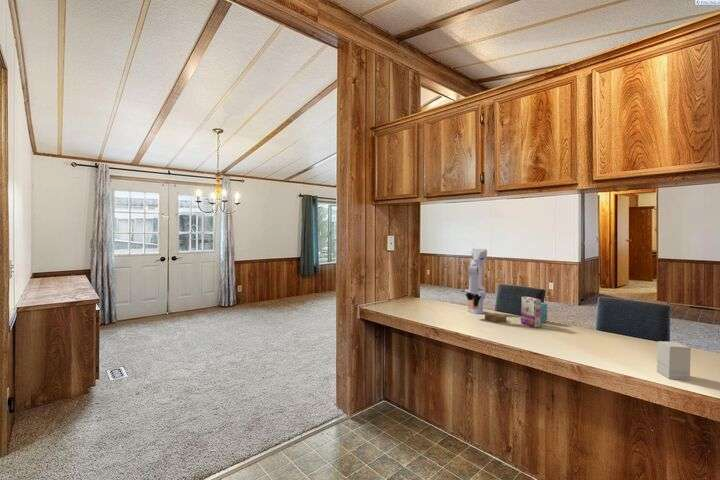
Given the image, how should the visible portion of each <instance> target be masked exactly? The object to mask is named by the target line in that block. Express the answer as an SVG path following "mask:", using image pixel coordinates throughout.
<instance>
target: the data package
mask: <svg viewBox="0 0 720 480" xmlns="http://www.w3.org/2000/svg"><path fill="white" fill-rule="evenodd" d="M547 321H548V304H547V303H546V302H542V301H541V324H543V323H546V322H547Z"/></svg>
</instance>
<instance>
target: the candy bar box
mask: <svg viewBox="0 0 720 480" xmlns="http://www.w3.org/2000/svg"><path fill="white" fill-rule="evenodd" d="M541 302H542V299H539V298H537V297H532V296H521V303H520V304H521V305H520V308H521V309H520V310H521V311H520V323H521V324H523V325H525V326H528V327H530V328H531V327H532V328H541V326H542V325H541V324H542V323H541Z"/></svg>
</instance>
